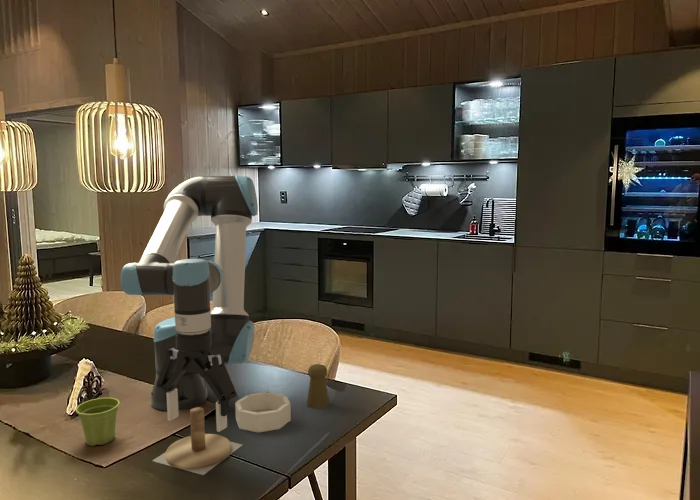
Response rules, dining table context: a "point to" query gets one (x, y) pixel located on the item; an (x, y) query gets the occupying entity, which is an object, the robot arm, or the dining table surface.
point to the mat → (201, 471)
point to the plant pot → (98, 420)
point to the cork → (317, 387)
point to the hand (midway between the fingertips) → (197, 423)
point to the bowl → (262, 412)
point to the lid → (198, 446)
